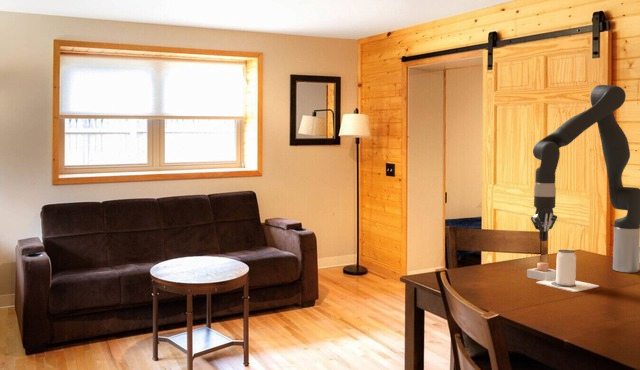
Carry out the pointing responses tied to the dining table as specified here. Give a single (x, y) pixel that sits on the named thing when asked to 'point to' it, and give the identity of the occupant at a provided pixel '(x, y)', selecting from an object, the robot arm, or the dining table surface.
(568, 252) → the can
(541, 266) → the button
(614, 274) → the dining table surface
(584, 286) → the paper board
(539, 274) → the button housing
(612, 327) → the dining table surface
